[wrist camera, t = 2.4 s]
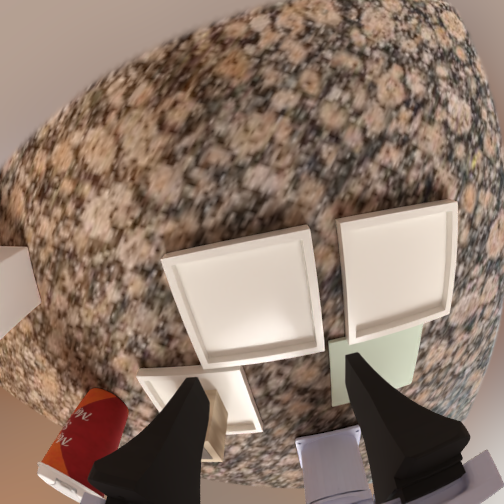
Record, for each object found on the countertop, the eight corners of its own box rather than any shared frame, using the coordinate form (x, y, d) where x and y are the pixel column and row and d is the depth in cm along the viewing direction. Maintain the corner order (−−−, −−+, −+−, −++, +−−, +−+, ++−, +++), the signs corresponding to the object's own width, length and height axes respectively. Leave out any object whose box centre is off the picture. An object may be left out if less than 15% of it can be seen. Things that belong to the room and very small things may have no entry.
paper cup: (83, 371, 24) (27, 463, 11) (143, 404, 25) (105, 507, 12) (79, 401, 26) (38, 479, 13) (130, 429, 27) (100, 513, 14)
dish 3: (442, 307, 20) (449, 313, 19) (345, 336, 21) (349, 345, 20) (448, 198, 17) (457, 201, 16) (335, 219, 18) (340, 223, 17)
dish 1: (322, 341, 21) (324, 350, 20) (205, 360, 22) (203, 369, 21) (306, 224, 18) (310, 229, 17) (165, 253, 19) (160, 259, 18)
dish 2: (262, 423, 25) (262, 431, 24) (178, 427, 26) (176, 434, 25) (240, 360, 22) (239, 369, 21) (139, 368, 23) (135, 376, 22)
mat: (410, 380, 23) (411, 383, 23) (331, 403, 24) (332, 406, 24) (421, 314, 20) (423, 317, 20) (328, 340, 21) (329, 343, 21)
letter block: (228, 413, 24) (222, 462, 19) (191, 415, 25) (181, 461, 19) (216, 389, 23) (207, 441, 17) (177, 391, 23) (162, 440, 18)
